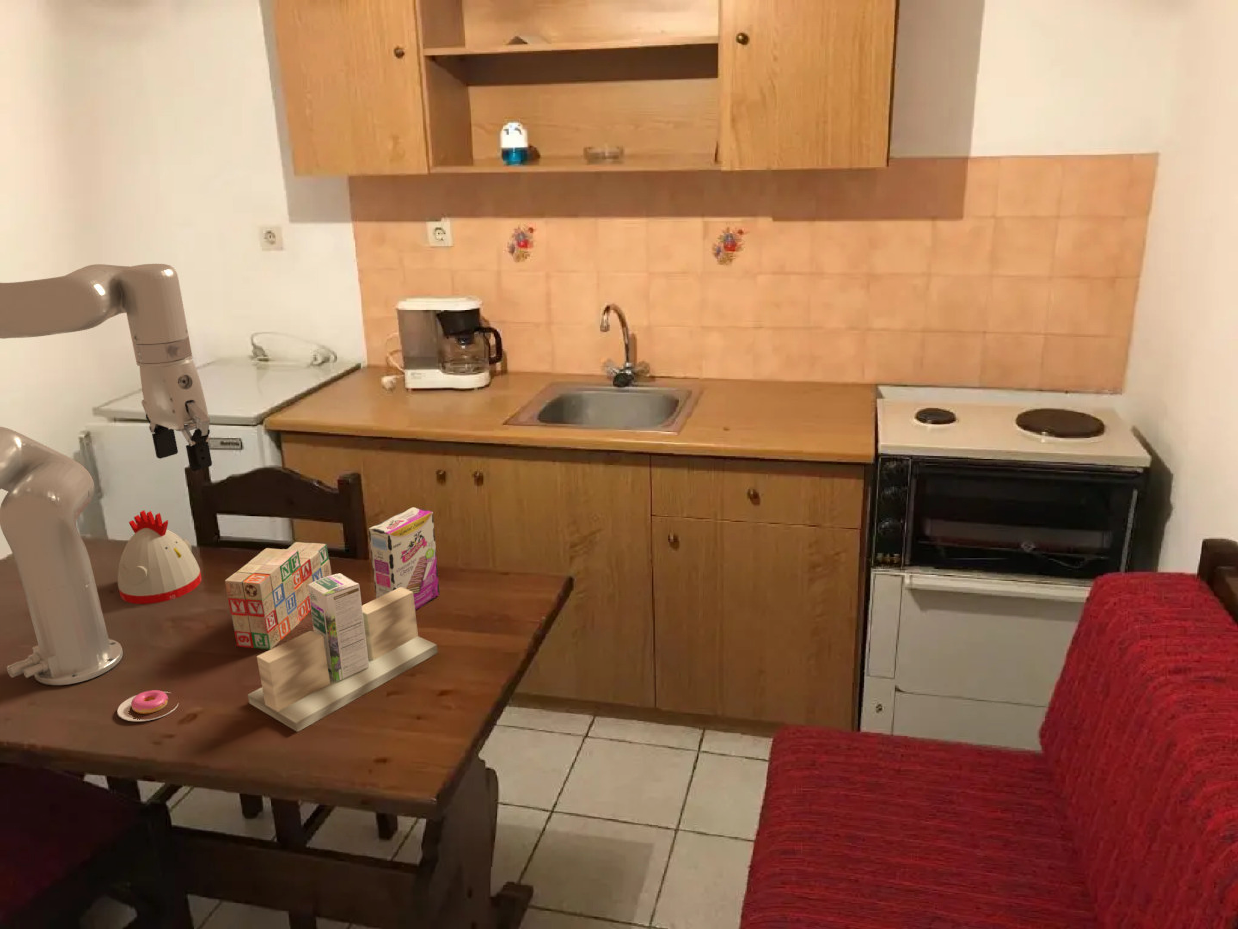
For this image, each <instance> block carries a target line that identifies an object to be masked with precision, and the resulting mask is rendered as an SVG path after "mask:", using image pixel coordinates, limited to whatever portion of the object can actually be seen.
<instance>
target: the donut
mask: <svg viewBox="0 0 1238 929" xmlns="http://www.w3.org/2000/svg"><path fill="white" fill-rule="evenodd" d="M167 693H169V694H171V692H168V691H163V690H157V689H156V690H155V689H154V690H153V689H152V690H145V691H143V692H140V693H138V694H136V695H132V696H131V697H129V698H128V699H126V700H124V701H123V702H121V703H120V705H119V706H118V707H117V712H116V713H117V716H118V717H119V718H121V719H122V720H125V721H129V722H147V721H149V722H150V721H154V720H157V719H160V718H163V717H165V716H168V715H169V714H171V713H173V712H174V711H175V710H176V709H177V708H178V706H179V704H180V703H177V705H176V706H175V707H174V708H173V709H172V710H170V711H168V712H167V713H166V714H164V715H163V714H162V715H161V716H160V715H159V716H158V717H153V718H149V719H140V720H139V718H136V719H133V718H135V717H134V716H133V715H132V714H131V715H129V714H128V713H129V712H128V711H130V709H131V708H132V710H133V712H135V713H137V714H142V715H147V714H153V713H156V712H159V711H161V710H162V709H164V708H165V707H166V706H167V704H168V701H169V697H168V695H167ZM137 719H138V720H137Z"/></svg>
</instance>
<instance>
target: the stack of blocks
mask: <svg viewBox="0 0 1238 929" xmlns="http://www.w3.org/2000/svg"><path fill="white" fill-rule="evenodd" d="M328 552H329V551H328V546H327V543H317V542H300V541H296V542H293V544H291V546H289V547H288V548H286V549H285V548H282V549H280V548H270V547H266V548H265V549H263V550H262V551H260V553H258V554H257V555H255V557H253V558H252V559H251V560H250V561H248V562H247V563H246V564H244V565H243V566H242V567H241V568H239V570H237V571H236V572H234V573H233V574H232V575H230V576H229V577H228V578H226V579H225V580H224V582H225V588H226V594H227V601H228V607H229V612H230V615H231V620H232V625H233V629H234V631H233V632H234V637H235V641H236V646H237V647H240V648H241V647H243V648H253V649H261V650H262V649H263V650H271V649H273V648H275V647H276V645H277V644H279V642H280V641H282V640H283V639H284V638H286V636H287V635H288V634H289V633H291V631H293V630H294V629H295V627H296V626H298V625H299V624H300V622H301V621H302V620H303V619H304V618H305V617H306V616H307V615H308V614H309V613H310V612H311V606H310V598H309V591H308V584H310V583H312V582H314V581H316V580H319V579H321V578H324V577H327V576H330V575H332V568H331V563H330V562H331V561H330V559H329V553H328Z"/></svg>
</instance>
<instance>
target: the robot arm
mask: <svg viewBox="0 0 1238 929" xmlns="http://www.w3.org/2000/svg"><path fill="white" fill-rule="evenodd" d="M120 314H126V318H127V323H128V326H129V327H128V328H129V333H130V338H131V343H132V347H133V351H134V358H135V362H136V365H137V366H138V367H139V375H140V384H141V391H142V398H143V399H142V400H141V405H142V407H143V410H144V412H145V419H146V421H147V422H148V423H149V425H148V426H149V427H148V429H149V431H150V433H151V436H152V440H153V446H154V452H155V456H156V458H157V459H160V460H161V459H165V458H168V457H171V456H174V455H177V454H178V453H179V450H178V444H177V439H176V434H175V431H176V432H181V433H182V435H183V437H184V438H185V440H186V443H187V445H185V449H186V454H187V455H186V456H187V460H188V465H189V470H190V471H191V472H196V471H200V470H203V469H207V468H210V467H212V466H213V461H212V456H211V450H210V444H209V441H210V436H209V435H210V433H211V430H210V417H209V412H208V407H207V403H206V398H205V395H204V391H203V387H202V383H201V380H200V377H199V373H198V370H197V367H196V365H195V362H194V361H193V360H192V359H193V353H192V346H191V342H190V337H189V331H188V330H189V329H188V325H187V320H186V314H185V308H184V304H183V297H182V290H181V286H180V282H179V276H178V273H177V270H176V269H175V268H174V267H173V266H171V265H169V264H166V263H145V264H137V265H132V266H129V265H128V266H126V265H125V266H124V265H113V264H105V263H103V264H99V263H98V264H97V263H96V264H90V265H87V266H86V265H85V266H83V267H82V268H79V269H75V270H74V271H72V272H70V273H68V274H66V275H62V276H57V277H56V276H55V277H49V278H42V279H35V280H33V279H32V280H26V281H25V280H24V281H14V282H0V339H22V338H36V337H37V338H38V337H39V338H40V337H44V336H46V337H47V336H53V335H61V334H69V333H75V332H81V331H87V330H90V329H93V328H96V327H98V326H100V325H102V324H103V323H104V322H106V321H107V320H109V319H111V318H113V317H116V316H118V315H120ZM192 430H193V434H192V433H191V431H192ZM0 490H4V491H6V492H7V493H6V494H5V496H4V498H3V499H2V502H1V503H0V529H1V532H2V534H3V536H4V538H5V540H6V542H7V544H8V546H9V548H10V551H11V553H12V556H13V558H14V561H15V564H16V568H17V571H18V575H19V578H20V581H21V585H22V588H23V591H24V592H23V593H24V596H25V599H26V603H27V608H28V611H29V615H30V619H31V622H32V623H31V624H32V626H33V630H34V633H35V637H36V640H37V645H35V646H32V648H31V649H32V651H33V653H32V654H29V655H28V656H27V658H26V659H23V660H20V661H16V662H14V663H11V664H9V665H7V666H6V669H7V673H8V674H9V676H10V678H15V677H17V676H21V675H22V674H23V675H24V677H25V678H27V679H29V677H32V676H34V678H35V680H36V681H38V682H39V683H41V684H44V685H50V686H65V685H73V684H78V683H82V682H85V681H89V680H91V679H95V678H96V677H99V676H101V675H103V674H105V673H106V672H109V671H110V670H111V669H113V668H114V667H115V666H116V665H118V663H119V662H120V661H121V660H122V658H123V656H124V652H123V651H124V650H123V648H122V644H121V643H119V641H116V640H115V639H111V638H109V634H108V630H107V626H106V622H105V618H104V614H103V610H102V605H101V601H100V597H99V596H100V595H99V593H98V588H97V585H96V584H97V583H96V580H95V574H94V572H93V571H94V570H93V568H92V564H91V559H90V554H89V551H88V550H87V546H86V544H85V542H84V541H83V538H82V536H81V534H80V532H79V530H78V526H77V520H78V519H79V518H80V516H81V514H83V512H84V511H85V510H86V508H87V507H88V506H89V505H90V503H91V501H93V497H94V495H95V482H94V478H93V477H92V475H91V474H90V472H89V470H88V469H86V467H84V465H82V464H81V463H79V462H78V461H76V460H74V459H73V458H71V457H69V456H68V455H66V454H63V453H61V452H59V451H57V450H55V449H53V448H51V447H49V446H47V445H45V444H43V443H41V442H38V441H36V440H34V439H32V438H30V437H28V436H26V435H24V434H22V433H20V432H18V431H16V430H13V429H11V428H8V427H4V426H0Z"/></svg>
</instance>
